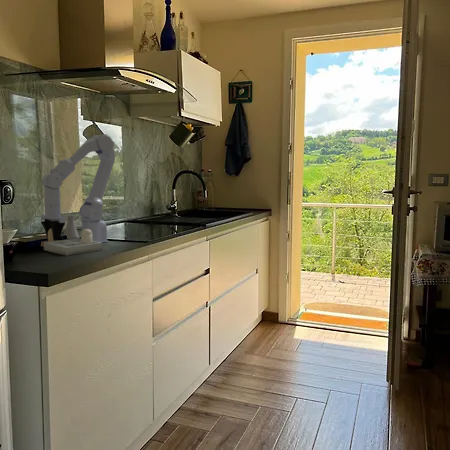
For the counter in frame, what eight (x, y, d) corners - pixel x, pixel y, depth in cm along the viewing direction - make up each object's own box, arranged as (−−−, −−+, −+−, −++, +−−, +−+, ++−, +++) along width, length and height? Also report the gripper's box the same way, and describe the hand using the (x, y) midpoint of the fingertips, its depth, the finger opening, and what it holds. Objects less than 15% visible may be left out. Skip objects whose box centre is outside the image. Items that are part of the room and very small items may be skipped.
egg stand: (57, 243, 181) (57, 240, 181) (66, 245, 177) (66, 242, 177) (40, 245, 176) (40, 242, 176) (49, 248, 172) (49, 244, 171)
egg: (55, 244, 179) (55, 227, 178) (61, 245, 177) (60, 228, 176) (46, 245, 176) (45, 227, 175) (51, 247, 174) (51, 229, 173)
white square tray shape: (79, 245, 179) (79, 225, 178) (102, 250, 170) (102, 229, 169) (44, 250, 168) (43, 228, 167) (66, 255, 158) (65, 232, 157)
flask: (82, 237, 199) (81, 214, 198) (77, 239, 192) (76, 216, 191) (65, 237, 199) (64, 214, 198) (59, 239, 192) (59, 216, 191)
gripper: (33, 203, 176) (34, 238, 178) (52, 206, 167) (53, 243, 168) (50, 203, 181) (51, 236, 183) (70, 205, 172) (70, 240, 174)
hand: (53, 239), depth 176 cm, fingers closed on egg, 4 cm apart
